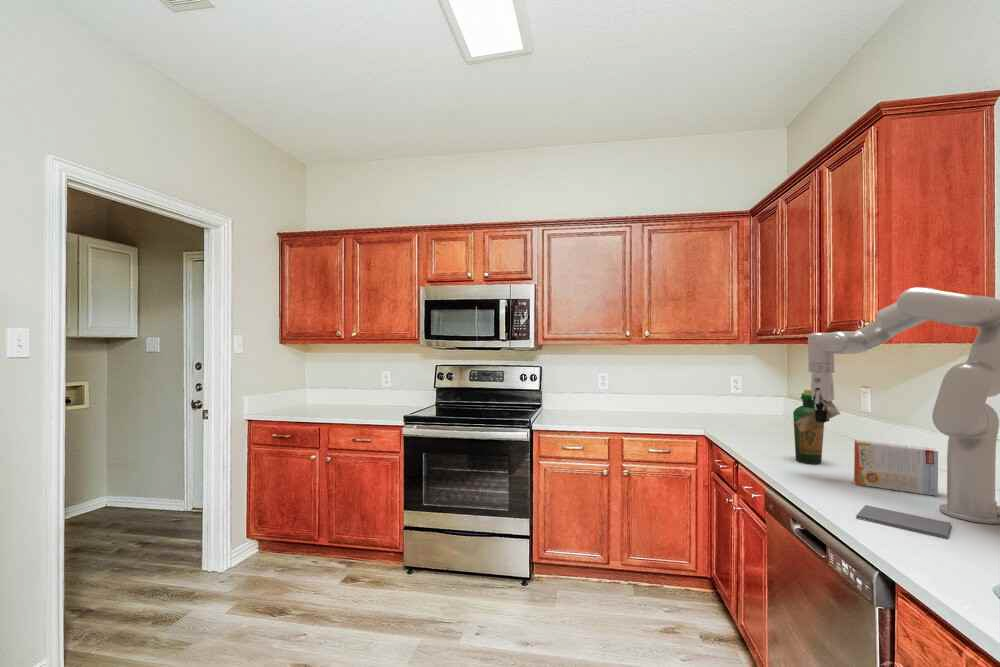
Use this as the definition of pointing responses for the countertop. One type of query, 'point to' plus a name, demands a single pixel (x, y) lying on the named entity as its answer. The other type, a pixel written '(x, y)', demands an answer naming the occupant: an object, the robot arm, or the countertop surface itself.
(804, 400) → the bottle
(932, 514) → the countertop surface
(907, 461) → the cracker box
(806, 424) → the tan boxy piece
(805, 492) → the countertop surface
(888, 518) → the mat
